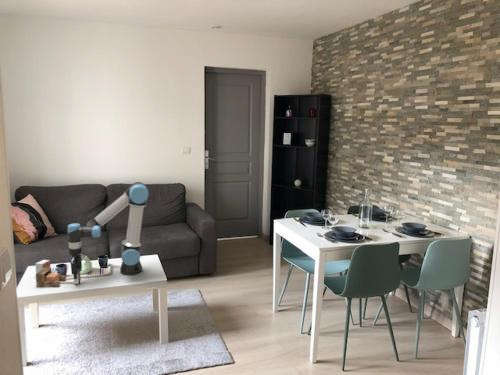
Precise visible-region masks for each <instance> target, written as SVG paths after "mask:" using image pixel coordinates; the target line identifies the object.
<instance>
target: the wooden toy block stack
mask: <svg viewBox="0 0 500 375" xmlns="http://www.w3.org/2000/svg"><path fill="white" fill-rule="evenodd" d="M49 273H53V272H52V267H51V268H43V269H42V270H40V271H39V272H38V273H36V272H35V283H36V288H60V286H61V283H60V282H67V275H59V281H46V278H45V277H46V276H47V275H48V274H49Z"/></svg>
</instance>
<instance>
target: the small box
mask: <svg viewBox="0 0 500 375" xmlns="http://www.w3.org/2000/svg"><path fill="white" fill-rule="evenodd" d="M34 264H35V274H36V273H38V272H39V271H40V270H42V269H43V268H51V269H52V266H51V260H49V259H42V260H39V261H37V262H35V263H34Z"/></svg>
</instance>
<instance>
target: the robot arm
mask: <svg viewBox="0 0 500 375" xmlns="http://www.w3.org/2000/svg"><path fill="white" fill-rule="evenodd" d="M148 198H149V190H148V188H147V185H146V184H144V182H140V181H136V182H133V183H131V185H130V186H129V187H128V188H127V189H126V190H124V191H123V194H122V195H121V196H119V197H118V198H117V199H116V200H115V201H113V202H112V203H111V204H110V205H108V206H107V207H106V208H105V209H104V210H102V211H101V212H100V213H98V214H97V215H96V216H95V217H94V218H92V219H91V220H89V221H88V222H87V223H86V226H81V224H80V223H74V222H73V223H70V224H68V225H67V238H68V239H67V240H68V243H67V244H68V254H69V255H70V256H71V260H69V263H70V271H71V275H73V282H74V283H73V284H74V285H75V284H78V283H79V279H78V274H77V268H79V273H80V282H81V281H82V277H81V276H82V275H81V272H82V271H83V269H82V266H83V265H82V264H83V263H82V262H83V261H82V253H83V251H82V249H83V248H82V239H92V238H99V237H101V228H102V227H103V226H104V225H105V224H106V223H108V222H109V221H111V220H112V219H113V218H114V217H115V216H116V215H117V214H119V213H120V212H122V210H124V209H125V208H126V207H127V206H128V205H129V214H128V221H127V229H126V230H127V231H126V239H124V240H121V243H120V245H121V261H122V262H121V264H120V269H119V272H120V274H121V275H125V276H134V275H137V274H140V273H142V272H143V265H142V262H141V260H140V259H141V248H142V243H141V242H140V237H141V232H142V221H143V216H144V208H145V207H147V201H148ZM78 285H79V284H78Z"/></svg>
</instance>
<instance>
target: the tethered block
mask: <svg viewBox="0 0 500 375" xmlns="http://www.w3.org/2000/svg"><path fill="white" fill-rule="evenodd" d="M80 273H81V272H80ZM80 273H79V268H77V274H78V279H79V283H78V284H74V281H60V284H74V285H77V286H78V285H80V284H81V281H80ZM59 276H60V273H59V272H57V273H56V272H55V273H54V272H52V273H49V274H48V275H47V276H46V277H45V278H46V281H59Z"/></svg>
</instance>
